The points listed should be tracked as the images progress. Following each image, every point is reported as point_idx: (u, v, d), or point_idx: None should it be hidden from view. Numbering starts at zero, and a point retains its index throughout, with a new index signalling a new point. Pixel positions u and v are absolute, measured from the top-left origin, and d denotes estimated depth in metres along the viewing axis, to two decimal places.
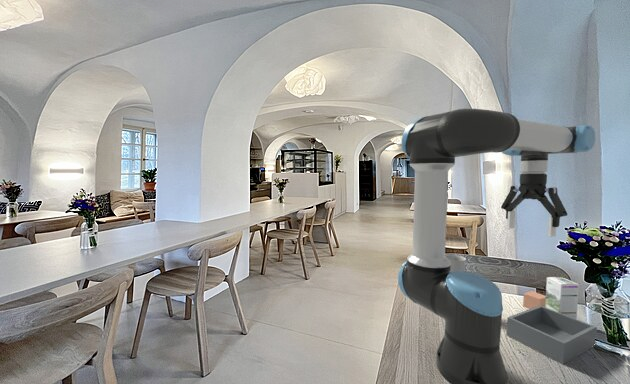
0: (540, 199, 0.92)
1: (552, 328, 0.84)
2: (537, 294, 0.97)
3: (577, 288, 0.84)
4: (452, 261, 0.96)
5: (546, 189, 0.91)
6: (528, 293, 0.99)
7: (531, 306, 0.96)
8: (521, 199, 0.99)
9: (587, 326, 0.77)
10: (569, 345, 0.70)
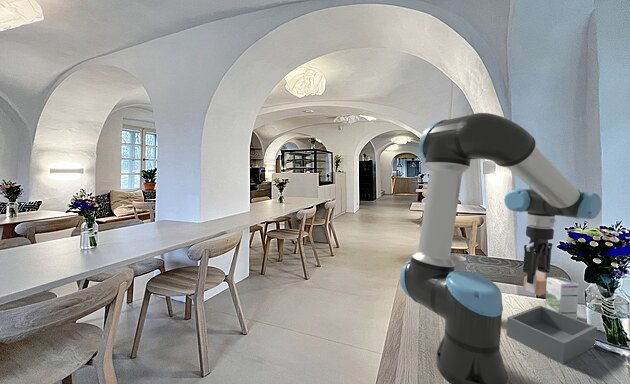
0: None
1: (552, 328, 0.84)
2: (538, 277, 0.97)
3: (577, 288, 0.84)
4: None
5: None
6: None
7: None
8: None
9: (587, 326, 0.77)
10: (569, 345, 0.70)
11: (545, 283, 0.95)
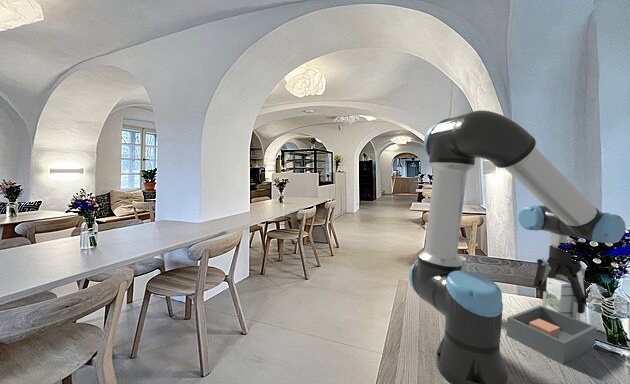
0: (571, 279, 0.83)
1: None
2: (546, 324, 0.77)
3: None
4: None
5: (582, 270, 0.82)
6: (535, 321, 0.78)
7: None
8: (554, 275, 0.88)
9: (587, 326, 0.77)
10: (569, 345, 0.70)
11: (556, 332, 0.75)
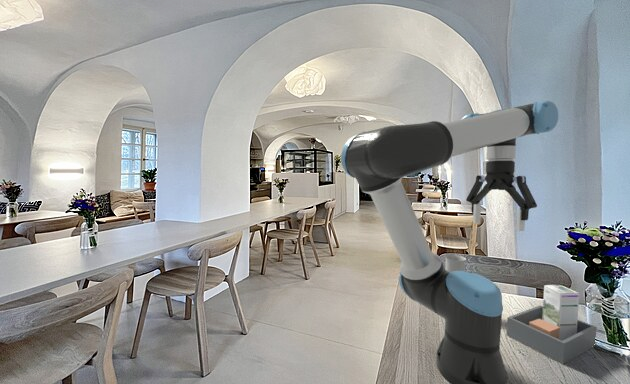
0: (508, 189, 0.82)
1: None
2: (546, 324, 0.77)
3: (577, 297, 0.76)
4: (452, 261, 0.96)
5: (514, 178, 0.81)
6: (535, 321, 0.78)
7: None
8: (487, 190, 0.89)
9: (587, 326, 0.77)
10: (569, 345, 0.70)
11: (556, 332, 0.75)
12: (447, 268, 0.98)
